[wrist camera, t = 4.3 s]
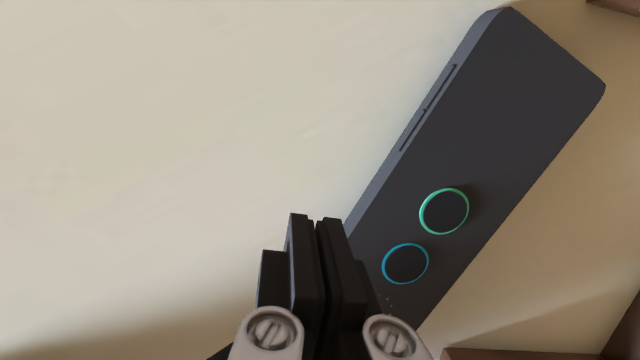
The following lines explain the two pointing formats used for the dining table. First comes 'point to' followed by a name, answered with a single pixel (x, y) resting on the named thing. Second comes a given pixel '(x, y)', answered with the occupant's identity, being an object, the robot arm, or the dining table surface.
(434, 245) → the smart home device
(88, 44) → the dining table surface
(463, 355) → the dock
